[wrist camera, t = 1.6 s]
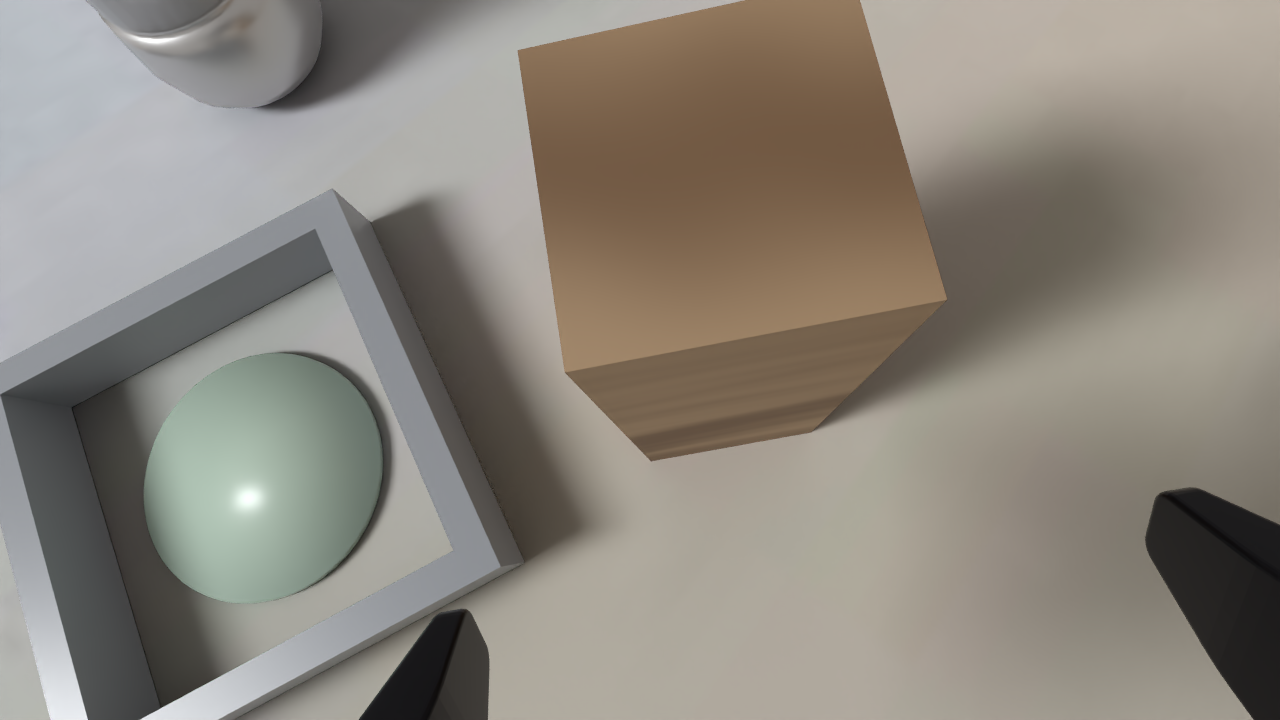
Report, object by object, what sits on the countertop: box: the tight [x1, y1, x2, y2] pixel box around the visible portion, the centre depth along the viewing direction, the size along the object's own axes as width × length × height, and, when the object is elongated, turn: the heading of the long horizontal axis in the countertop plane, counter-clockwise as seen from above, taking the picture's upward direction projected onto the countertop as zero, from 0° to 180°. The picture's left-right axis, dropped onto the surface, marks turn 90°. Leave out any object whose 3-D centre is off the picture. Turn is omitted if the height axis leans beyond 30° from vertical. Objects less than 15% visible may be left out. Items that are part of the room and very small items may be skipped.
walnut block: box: [518, 0, 947, 461], centre depth 16 cm, size 5×5×13 cm
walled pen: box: [0, 189, 525, 720], centre depth 22 cm, size 13×13×2 cm
